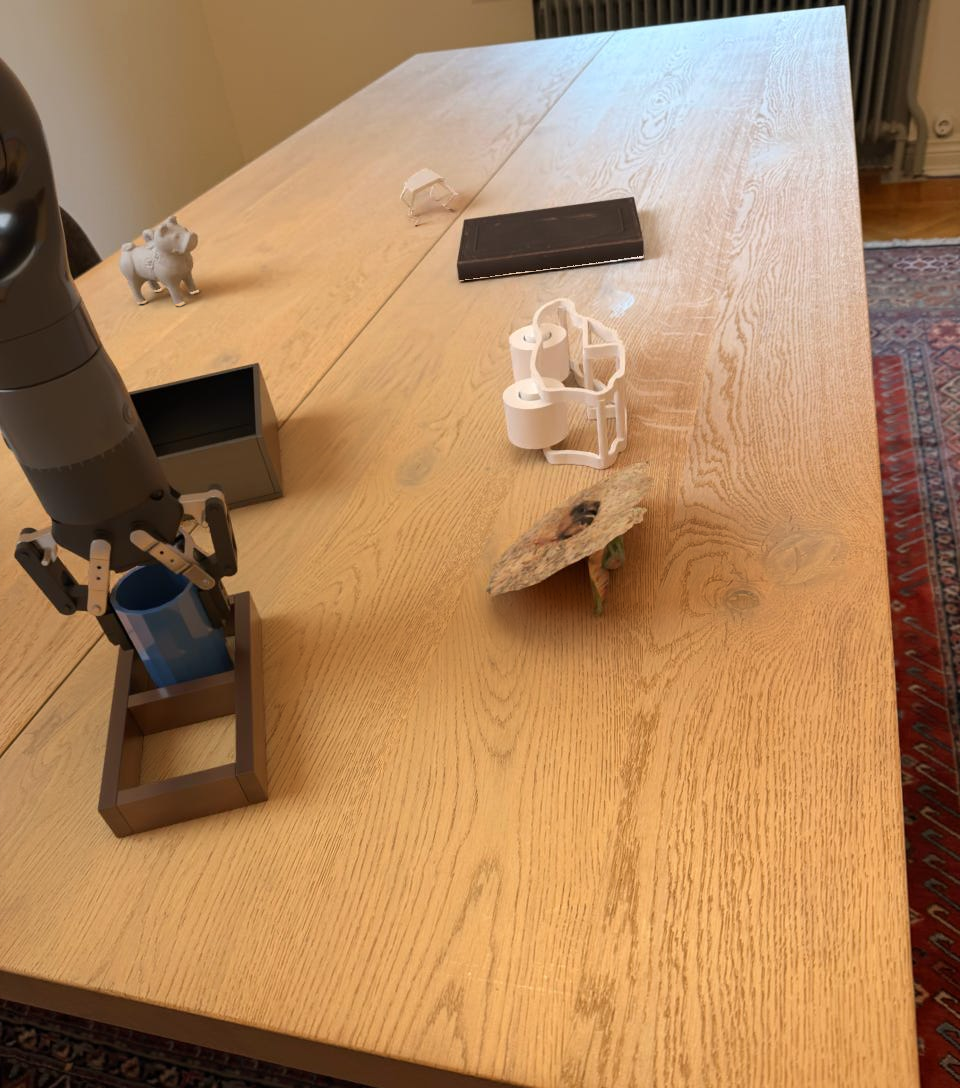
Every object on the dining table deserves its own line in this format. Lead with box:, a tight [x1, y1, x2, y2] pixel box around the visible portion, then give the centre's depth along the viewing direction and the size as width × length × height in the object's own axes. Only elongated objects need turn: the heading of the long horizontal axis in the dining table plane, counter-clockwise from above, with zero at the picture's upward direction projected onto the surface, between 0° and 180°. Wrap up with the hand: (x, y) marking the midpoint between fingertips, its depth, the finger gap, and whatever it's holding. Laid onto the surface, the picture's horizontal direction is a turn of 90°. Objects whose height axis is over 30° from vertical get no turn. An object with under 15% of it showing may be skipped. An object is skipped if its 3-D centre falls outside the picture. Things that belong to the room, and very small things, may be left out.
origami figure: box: [399, 166, 459, 223], centre depth 138 cm, size 12×8×5 cm
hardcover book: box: [456, 196, 645, 281], centre depth 121 cm, size 16×23×2 cm
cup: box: [110, 563, 235, 689], centre depth 68 cm, size 6×6×9 cm
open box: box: [128, 362, 284, 522], centre depth 91 cm, size 15×15×7 cm
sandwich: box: [485, 460, 655, 617], centre depth 71 cm, size 18×14×8 cm
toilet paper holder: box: [502, 297, 628, 470], centre depth 88 cm, size 20×11×7 cm, turn 176°
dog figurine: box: [118, 214, 199, 305], centre depth 125 cm, size 5×13×11 cm, turn 70°
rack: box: [97, 590, 269, 839], centre depth 67 cm, size 10×19×3 cm, turn 12°
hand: (175, 631), depth 68 cm, fingers closed on cup, 6 cm apart
